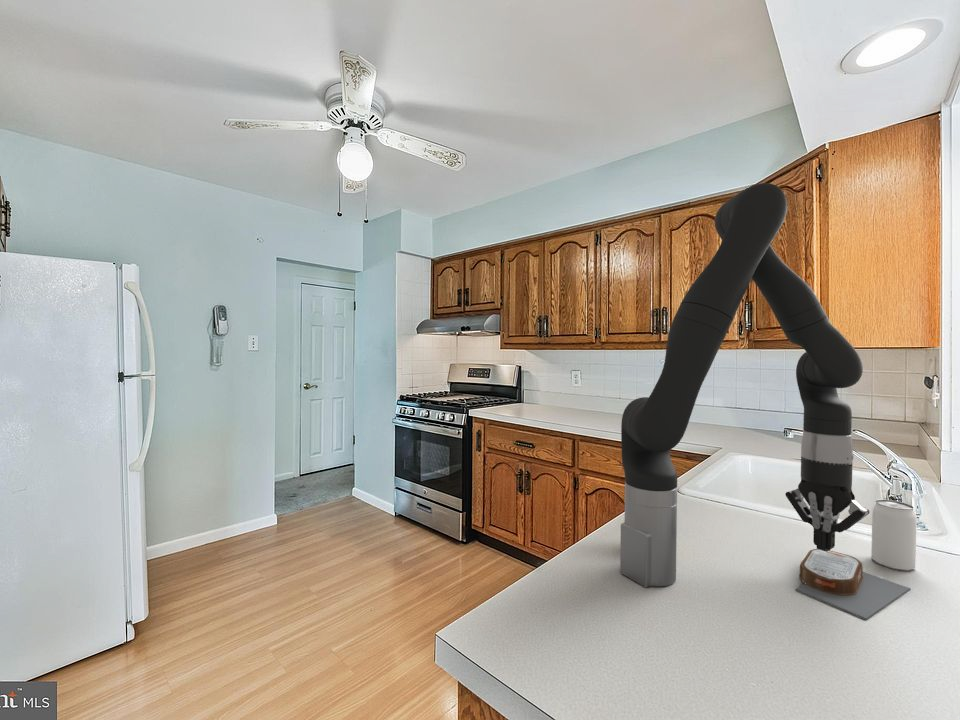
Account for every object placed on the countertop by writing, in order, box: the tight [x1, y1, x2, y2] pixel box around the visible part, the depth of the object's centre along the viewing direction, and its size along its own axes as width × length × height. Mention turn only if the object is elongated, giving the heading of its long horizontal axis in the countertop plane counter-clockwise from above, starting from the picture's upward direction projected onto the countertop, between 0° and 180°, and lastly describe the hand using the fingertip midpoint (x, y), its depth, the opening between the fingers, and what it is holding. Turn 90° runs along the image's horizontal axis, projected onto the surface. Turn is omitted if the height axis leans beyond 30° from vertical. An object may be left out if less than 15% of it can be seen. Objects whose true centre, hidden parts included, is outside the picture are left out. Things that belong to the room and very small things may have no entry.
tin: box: [798, 548, 864, 596], centre depth 83 cm, size 15×3×8 cm
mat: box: [795, 571, 911, 621], centre depth 79 cm, size 18×10×1 cm, turn 120°
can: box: [870, 498, 918, 572], centre depth 89 cm, size 6×6×12 cm
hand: (824, 549), depth 83 cm, fingers closed
